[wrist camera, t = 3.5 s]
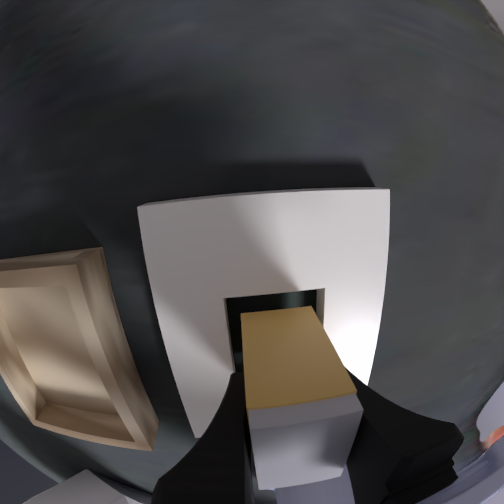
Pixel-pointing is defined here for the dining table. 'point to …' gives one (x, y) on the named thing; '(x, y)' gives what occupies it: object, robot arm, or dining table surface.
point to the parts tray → (71, 350)
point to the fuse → (296, 398)
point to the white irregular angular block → (90, 492)
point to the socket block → (263, 274)
